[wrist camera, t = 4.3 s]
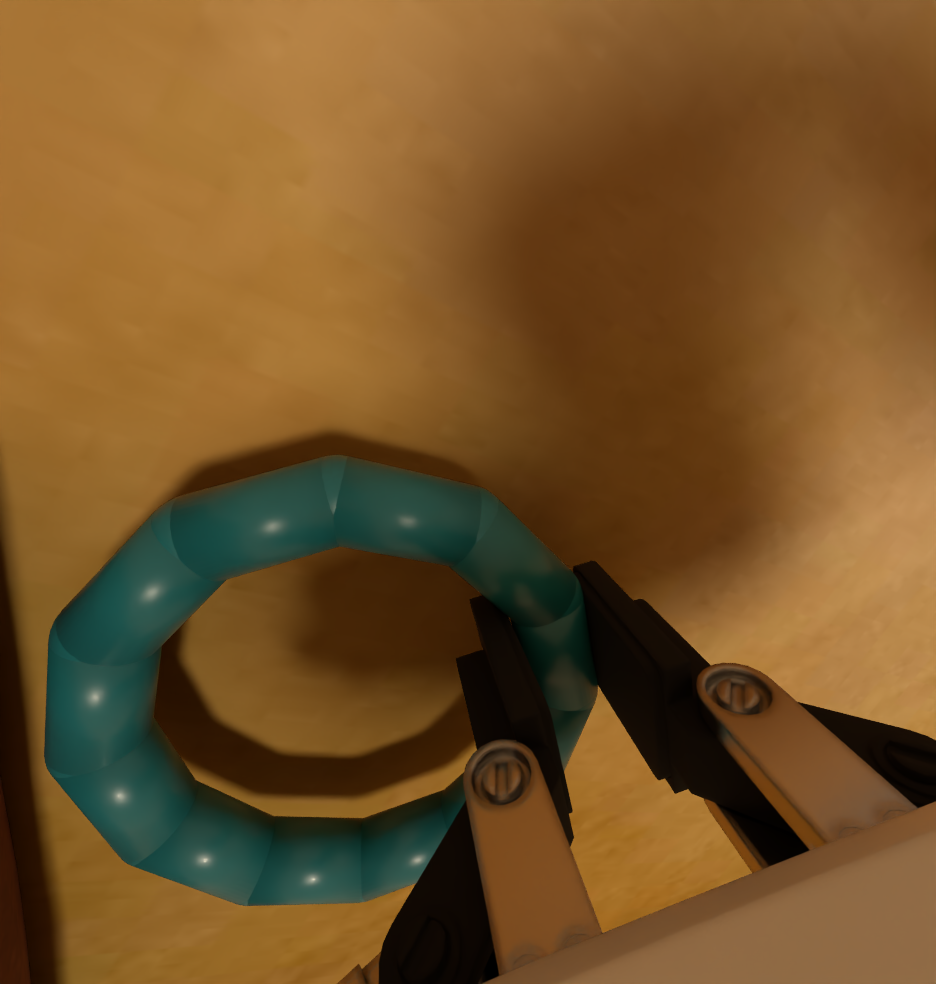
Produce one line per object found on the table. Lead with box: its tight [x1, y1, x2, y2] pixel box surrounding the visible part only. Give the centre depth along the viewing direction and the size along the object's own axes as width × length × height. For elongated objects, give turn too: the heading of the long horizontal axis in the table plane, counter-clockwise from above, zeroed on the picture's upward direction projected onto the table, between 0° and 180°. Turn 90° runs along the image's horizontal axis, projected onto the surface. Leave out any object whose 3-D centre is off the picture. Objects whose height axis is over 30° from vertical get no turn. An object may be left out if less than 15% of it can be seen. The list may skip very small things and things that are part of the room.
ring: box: [44, 455, 598, 906], centre depth 11 cm, size 12×12×2 cm
